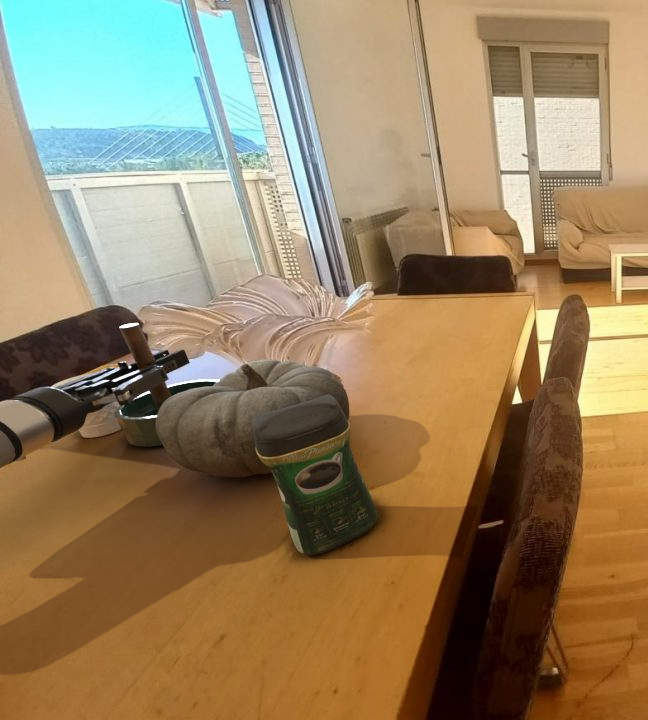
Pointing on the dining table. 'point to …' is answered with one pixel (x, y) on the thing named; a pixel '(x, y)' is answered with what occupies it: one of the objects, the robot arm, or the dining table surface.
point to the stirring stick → (143, 358)
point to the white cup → (97, 417)
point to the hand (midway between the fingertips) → (176, 356)
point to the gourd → (237, 414)
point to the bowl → (148, 414)
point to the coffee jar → (315, 473)
